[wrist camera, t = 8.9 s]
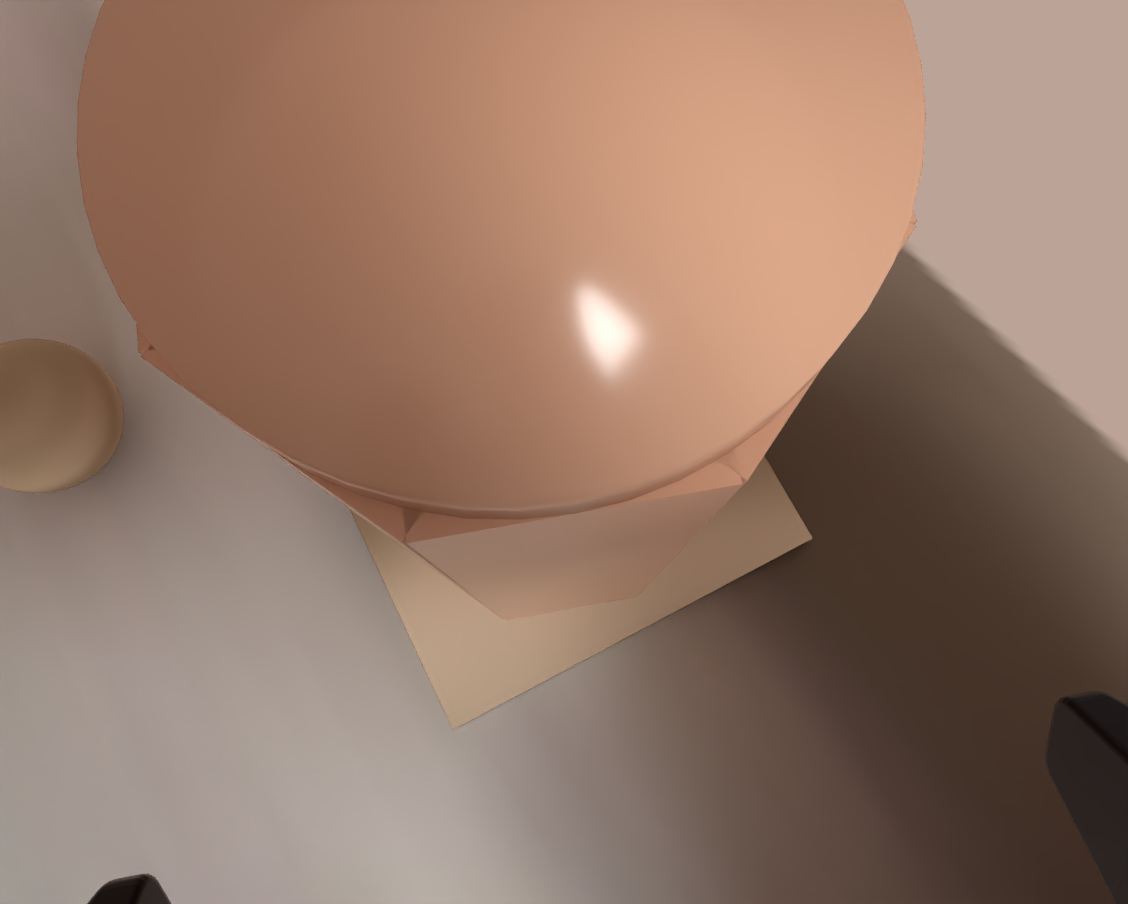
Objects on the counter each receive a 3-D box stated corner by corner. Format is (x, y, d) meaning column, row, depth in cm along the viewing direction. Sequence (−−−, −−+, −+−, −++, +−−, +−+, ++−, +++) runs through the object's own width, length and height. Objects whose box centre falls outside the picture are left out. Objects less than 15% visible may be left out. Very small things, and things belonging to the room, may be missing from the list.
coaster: (807, 540, 18) (813, 538, 18) (455, 728, 18) (453, 729, 17) (622, 224, 20) (623, 215, 20) (293, 381, 19) (287, 375, 19)
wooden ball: (170, 465, 19) (99, 428, 16) (35, 530, 19) (-64, 504, 16) (120, 344, 20) (41, 288, 17) (-12, 406, 19) (-116, 359, 16)
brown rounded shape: (730, 580, 18) (1034, 412, 6) (410, 638, 18) (101, 577, 6) (665, 284, 19) (811, -298, 8) (369, 334, 19) (57, -188, 7)
